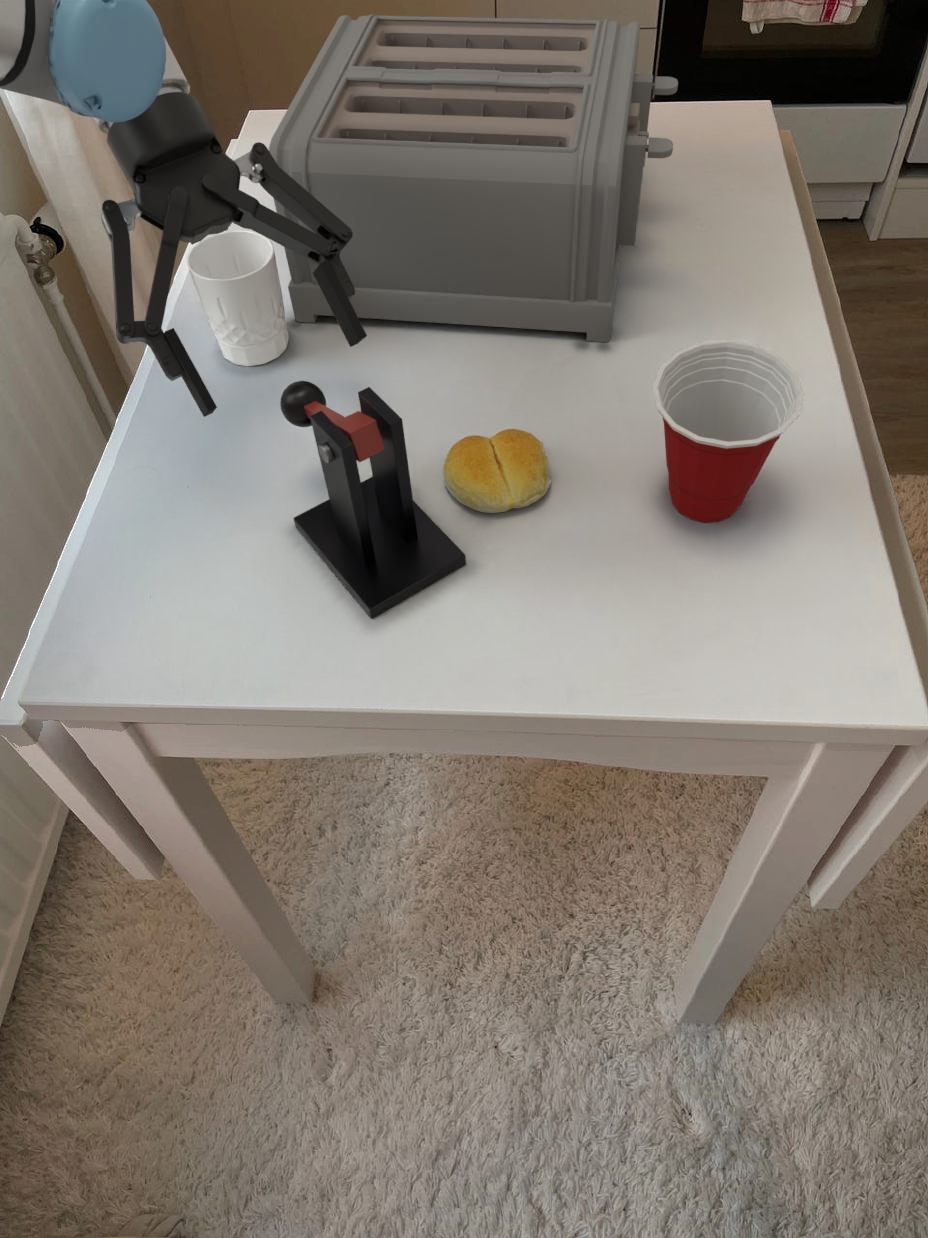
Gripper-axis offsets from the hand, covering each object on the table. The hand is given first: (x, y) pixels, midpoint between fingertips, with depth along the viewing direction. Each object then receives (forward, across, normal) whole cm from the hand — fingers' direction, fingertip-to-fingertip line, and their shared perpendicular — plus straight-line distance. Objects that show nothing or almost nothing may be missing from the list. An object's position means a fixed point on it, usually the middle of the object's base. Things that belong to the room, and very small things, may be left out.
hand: (286, 376), depth 76 cm
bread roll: (+16, +12, -1) cm, 20 cm away
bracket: (+15, 0, -1) cm, 15 cm away
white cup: (-6, +4, +20) cm, 21 cm away
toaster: (-5, +32, +19) cm, 38 cm away
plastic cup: (+24, +24, -10) cm, 36 cm away
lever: (+6, 0, -4) cm, 8 cm away
